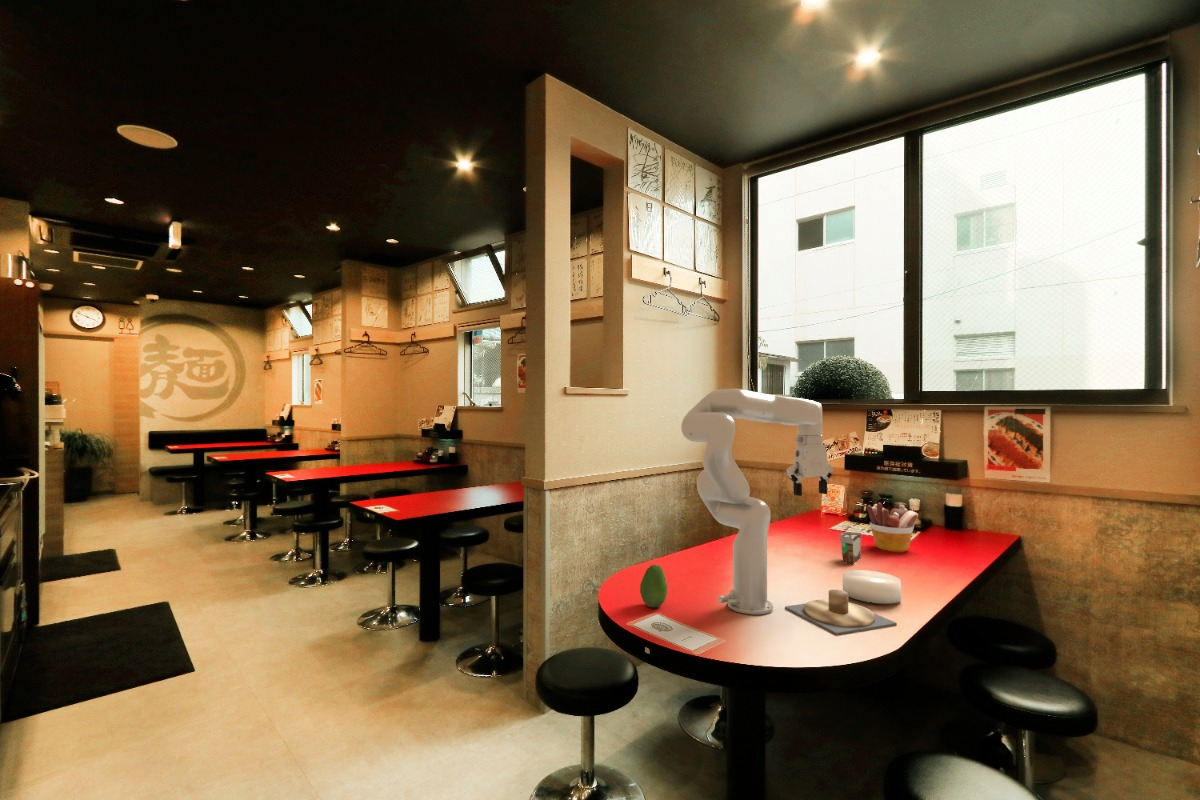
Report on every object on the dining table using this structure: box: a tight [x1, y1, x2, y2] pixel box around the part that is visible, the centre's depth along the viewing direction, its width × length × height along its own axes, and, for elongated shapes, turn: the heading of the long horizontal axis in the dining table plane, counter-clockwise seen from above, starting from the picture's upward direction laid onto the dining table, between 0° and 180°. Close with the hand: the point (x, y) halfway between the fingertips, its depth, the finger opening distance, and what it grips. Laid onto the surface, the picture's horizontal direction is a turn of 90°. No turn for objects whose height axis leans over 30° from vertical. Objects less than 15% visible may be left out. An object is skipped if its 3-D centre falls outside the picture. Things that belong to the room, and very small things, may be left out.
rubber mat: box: [784, 603, 898, 636], centre depth 151 cm, size 20×20×1 cm
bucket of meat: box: [866, 502, 919, 552], centre depth 226 cm, size 20×16×20 cm
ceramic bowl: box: [842, 569, 902, 604], centre depth 166 cm, size 16×16×6 cm
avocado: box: [639, 564, 668, 608], centre depth 159 cm, size 8×8×12 cm
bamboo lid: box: [803, 589, 875, 627], centre depth 151 cm, size 18×18×6 cm
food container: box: [838, 531, 862, 565], centre depth 208 cm, size 12×6×10 cm, turn 141°
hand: (810, 494), depth 174 cm, fingers open, 9 cm apart
